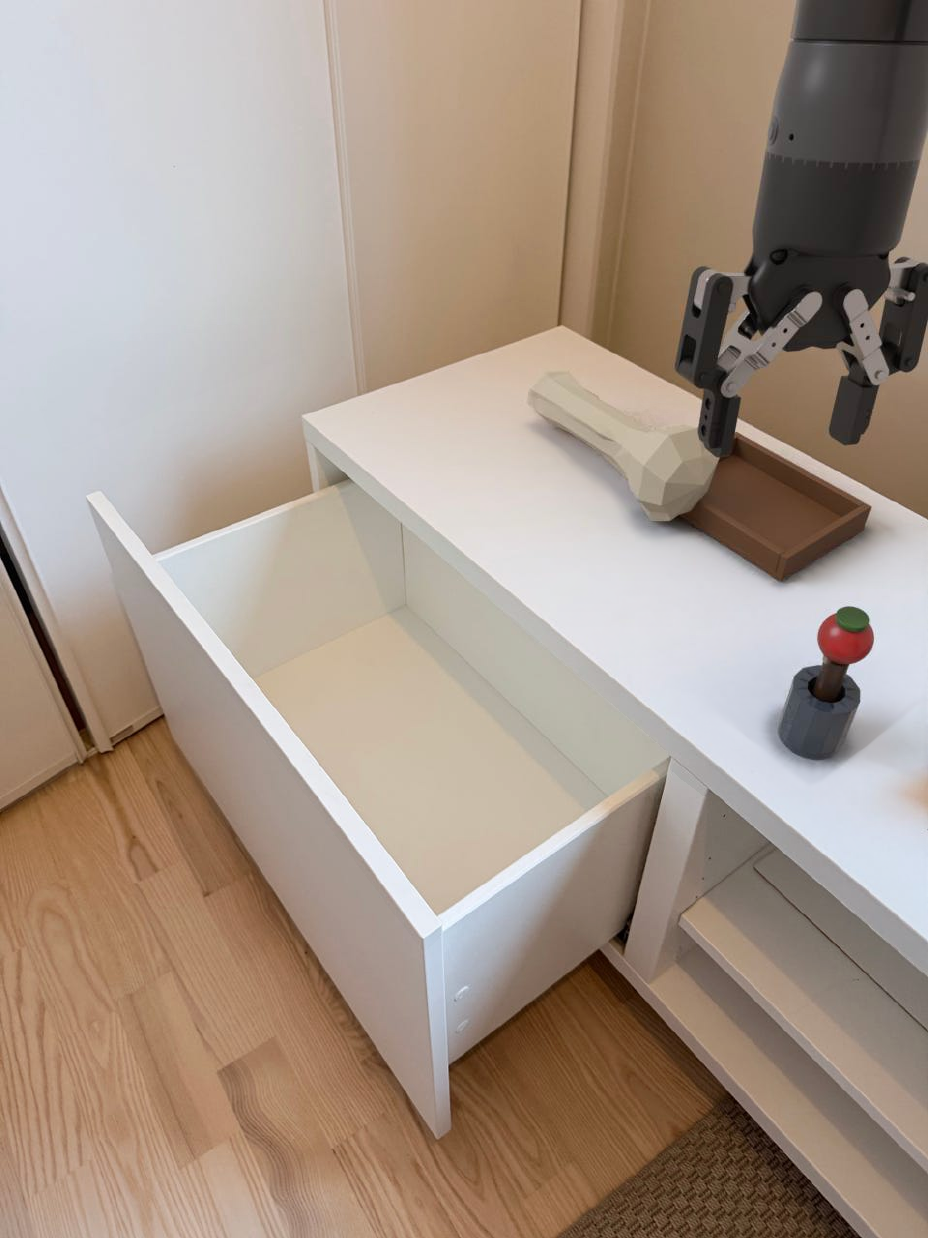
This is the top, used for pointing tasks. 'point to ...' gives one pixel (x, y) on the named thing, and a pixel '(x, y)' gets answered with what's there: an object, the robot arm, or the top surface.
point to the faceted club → (630, 446)
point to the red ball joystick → (841, 649)
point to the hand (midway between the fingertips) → (780, 446)
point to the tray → (775, 510)
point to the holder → (817, 716)
